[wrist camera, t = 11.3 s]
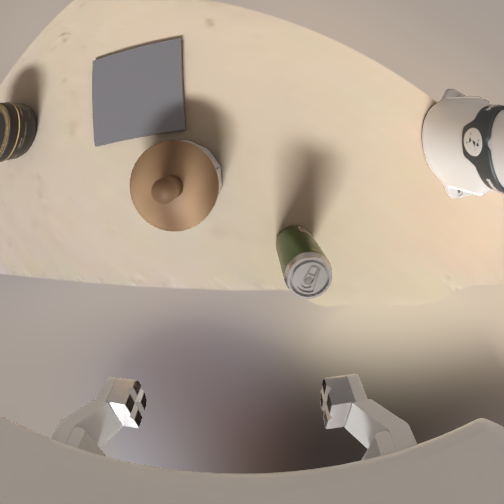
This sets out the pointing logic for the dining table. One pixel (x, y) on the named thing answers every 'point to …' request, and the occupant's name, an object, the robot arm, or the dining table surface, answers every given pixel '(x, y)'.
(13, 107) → the jar
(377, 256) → the dining table surface
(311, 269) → the beer can
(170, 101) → the mat
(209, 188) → the lid
